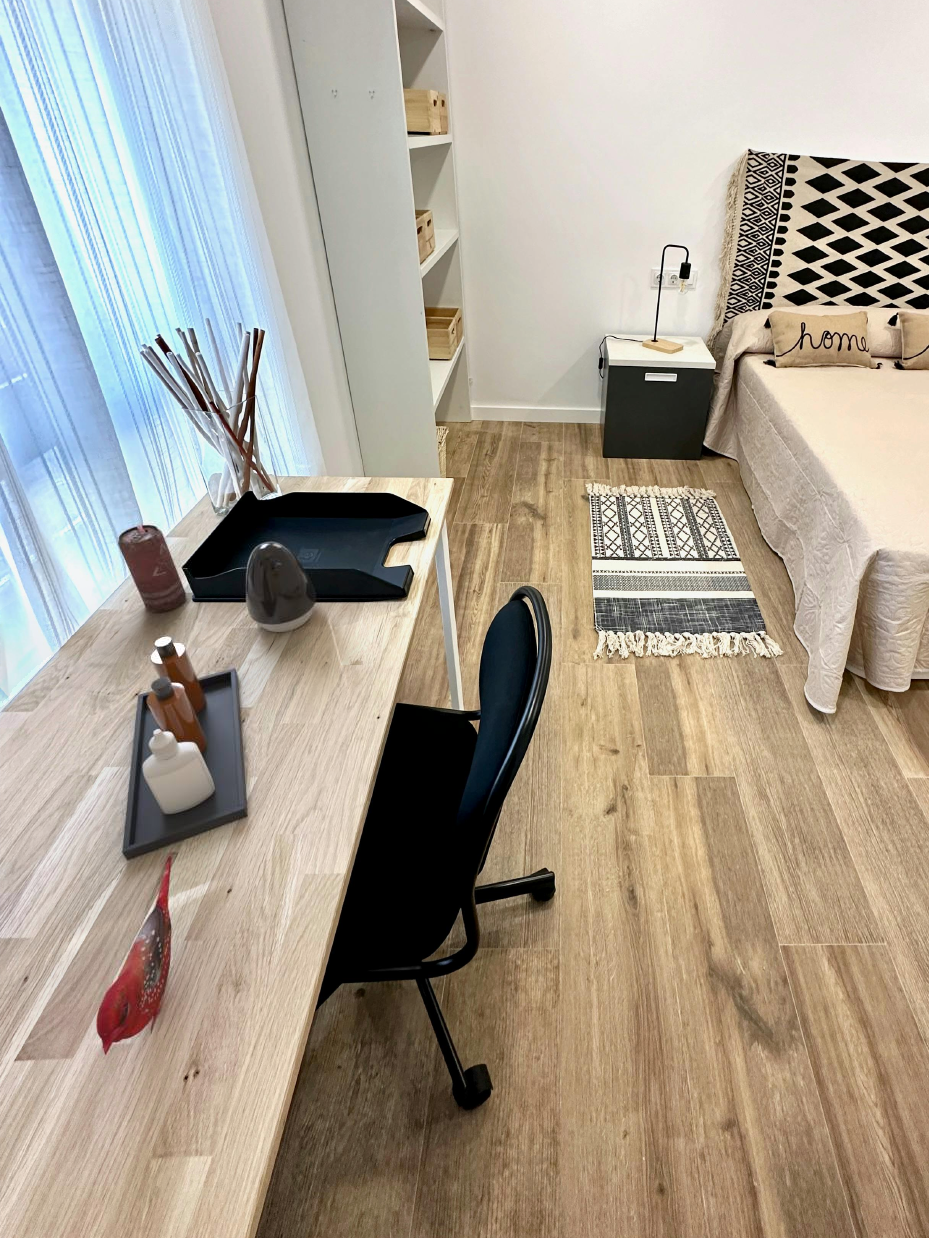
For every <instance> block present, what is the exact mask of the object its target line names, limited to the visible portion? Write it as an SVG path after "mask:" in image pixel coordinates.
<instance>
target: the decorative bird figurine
mask: <svg viewBox="0 0 929 1238" xmlns="http://www.w3.org/2000/svg"><path fill="white" fill-rule="evenodd" d="M171 868H172V856H171V855H168V857H167V859H166V861H165V865H164V870H163V872H162V878H161V881H160V886H159V891H158V895H157V898H156V902H155V905H154V908H153V909H152V911H151V912H150V914H149V915H148V916H147V918H146V920H145V921H144V923H143V925H142V926H141V928H140V929H139V932H138V934H137V935H136V938H135V939H134V941H133V944H132V946H131V948H130V950H129V952H128V954H127V956H126V959H125V961H124V964H123V965H122V968H121V970H120V972H119V974H118V977H117V979H116V980H115V981H114V982H113V983H112V984H111V986H110V987H109V988H108V990H107V991H106V993H105V994H104V996H103V999H102V1000H101V1002H100V1005H99V1008H98V1011H97V1015H96V1024H95V1025H96V1031H97V1032H96V1033H97V1034H98V1037H99V1039H100V1040H101V1043H102V1049H103V1053H104V1055H105V1056H107V1054H108V1052H109V1050H110V1048H111V1046H112V1045H113V1043H119V1042H121V1041H122V1040H127V1039H131V1038H133V1037H134V1036H137V1035H138V1034H139V1033H141V1032H142V1031H144V1029H145V1028H146V1027H147V1026H148V1024H149V1023H150V1022H151V1021H152V1022H151V1026H150V1034H151V1035H152V1034H153V1031H154V1027H155V1024H156V1021H157V1018H158V1016H159V1014H160V1013H161V1010H162V1007H163V1001H164V995H165V990H166V986H167V982H168V979H169V973H170V967H171V956H172V955H171V954H172V953H171V952H172V933H173V932H172V931H173V930H172V929H173V928H172V920H171V915H170V909H169V892H170V883H171V882H170V880H171V870H172V869H171Z"/></svg>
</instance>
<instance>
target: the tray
mask: <svg viewBox="0 0 929 1238" xmlns="http://www.w3.org/2000/svg"><path fill="white" fill-rule="evenodd" d="M198 680H199V682H200V685H201V687H202V690H203V692H204V695H205V697H206V700H207V701H206V705H205V706H204V708H203V709H202V710H200V711H199V712H198V713H196V716H197V719H198V721H199V723H200V726H201V728H202V730H203V733H204V735H205V737H206V740H207V747H206V749H205V750H204V751H203V753H202V754H201V755H202V757H203V759H204V762H205V764H206V766H207V768H208V771H209V773H210V775H211V777H212V780H213V783H214V787H215V790H214V793H213V794H212V795H211V796H210V797H208V798H207V799H206V800H204V801H203V802H201V803H200V804H198V805H196V806H194V807H192V808H190V809H188V810H185V811H182V812H178V813H174V814H165V813H164V812H163V811H162V809H161V808H160V806H159V804H158V802H157V800H156V798H155V796H154V794H153V793H152V791H151V789H150V787H149V785H148V783H147V781H146V779H145V777H144V774H143V767H142V766H143V763H144V762H145V761H146V760H147V759H148V758H149V757H150V756H151V755H153V753H152V751H151V749H150V747H149V742H150V740H151V739H152V738H153V737H154V733H153V732H154V731H155V730H156V729H159V727H158V724H157V722H156V720H155V718H154V716H153V714H152V712H151V710H150V708H149V706H148V704H147V698H148V696H149V694H150V693H151V692H152V691H153V690H150V691H147V692H144V693H140V694H137V702H136V703H137V704H136V712H135V722H134V732H133V743H132V753H131V763H130V772H129V773H130V774H129V783H128V793H127V803H126V810H125V812H126V813H125V820H124V821H125V822H124V832H123V843H122V852H121V853H122V855H123V857H124V858H125V859H126V861H130V860H133V859H136V858H138V857H141V856H144V855H147V854H149V853H153V852H155V851H157V850H161V849H163V848H166V847H168V846H172V845H174V844H176V843H180V842H183V841H185V840H187V839H190V838H194V837H195V836H198V835H202V834H204V833H207V832H209V831H212V830H215V829H218V828H220V827H223V826H226V825H229V824H231V823H234V822H236V821H239V820H242V819H245V818H248V817H249V813H248V812H249V811H248V799H247V785H246V772H245V758H244V744H243V742H244V741H243V730H242V718H241V717H242V716H241V704H240V703H241V702H240V689H239V676H238V672H237V670H236V667H233V668H230V669H226V670H221V671H219V672H215V673H211V674H207V675H204V676H201V677H198Z"/></svg>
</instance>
